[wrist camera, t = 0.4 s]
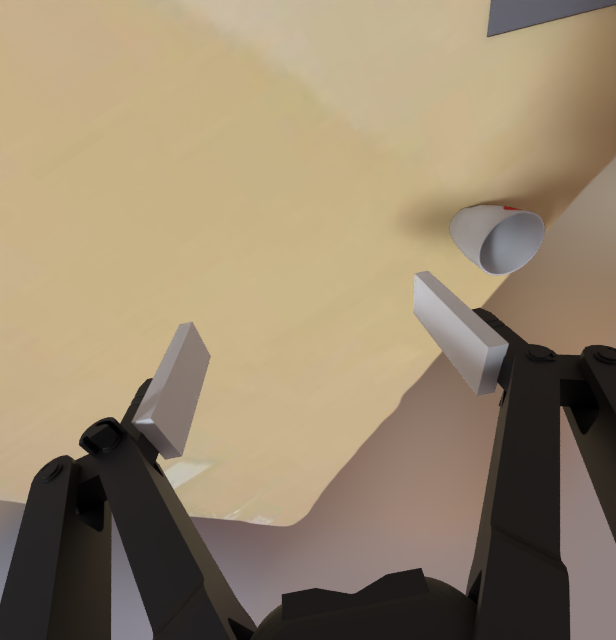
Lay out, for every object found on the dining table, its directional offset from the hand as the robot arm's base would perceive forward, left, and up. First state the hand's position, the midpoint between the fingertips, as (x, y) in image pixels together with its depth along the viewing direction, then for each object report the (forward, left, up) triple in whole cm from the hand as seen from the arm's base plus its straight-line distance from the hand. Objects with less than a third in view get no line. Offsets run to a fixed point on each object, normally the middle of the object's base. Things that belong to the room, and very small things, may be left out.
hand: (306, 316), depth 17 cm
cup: (+8, +26, -28) cm, 39 cm away
